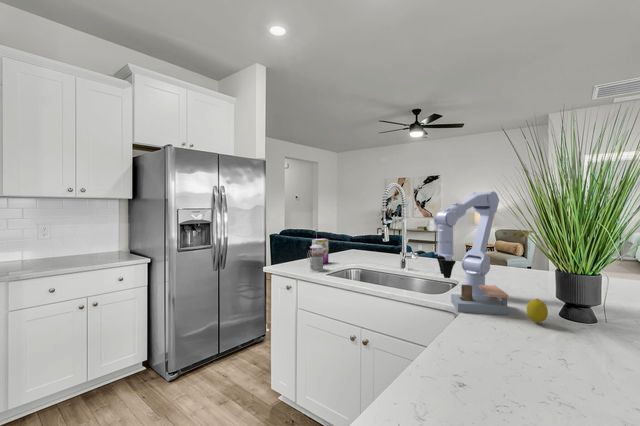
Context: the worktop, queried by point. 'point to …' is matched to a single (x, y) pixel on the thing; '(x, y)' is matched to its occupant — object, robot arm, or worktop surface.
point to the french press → (316, 258)
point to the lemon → (537, 311)
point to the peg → (466, 292)
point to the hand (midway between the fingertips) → (445, 275)
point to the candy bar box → (322, 250)
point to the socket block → (483, 301)
